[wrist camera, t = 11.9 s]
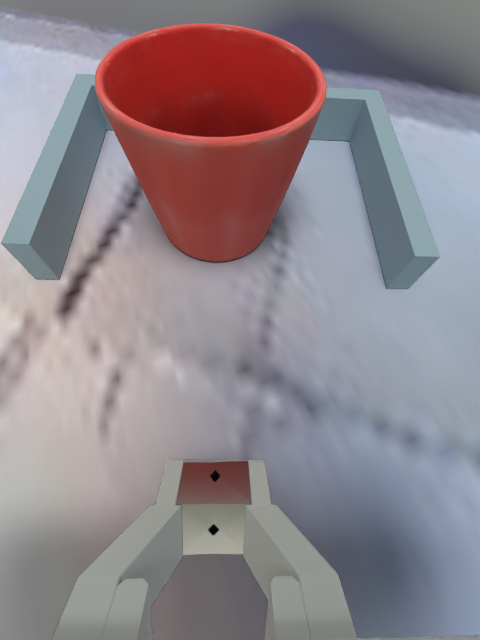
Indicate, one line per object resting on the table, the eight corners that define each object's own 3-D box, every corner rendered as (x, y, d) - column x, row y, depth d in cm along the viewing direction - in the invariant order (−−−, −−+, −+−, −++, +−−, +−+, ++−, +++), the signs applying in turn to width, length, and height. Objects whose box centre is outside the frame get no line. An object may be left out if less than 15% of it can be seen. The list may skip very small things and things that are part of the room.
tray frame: (35, 278, 20) (0, 243, 17) (93, 118, 28) (76, 73, 25) (407, 288, 21) (439, 256, 18) (362, 131, 29) (379, 90, 26)
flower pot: (177, 160, 26) (154, 3, 17) (302, 193, 25) (344, 44, 16) (116, 253, 21) (42, 102, 13) (266, 300, 20) (299, 169, 12)
